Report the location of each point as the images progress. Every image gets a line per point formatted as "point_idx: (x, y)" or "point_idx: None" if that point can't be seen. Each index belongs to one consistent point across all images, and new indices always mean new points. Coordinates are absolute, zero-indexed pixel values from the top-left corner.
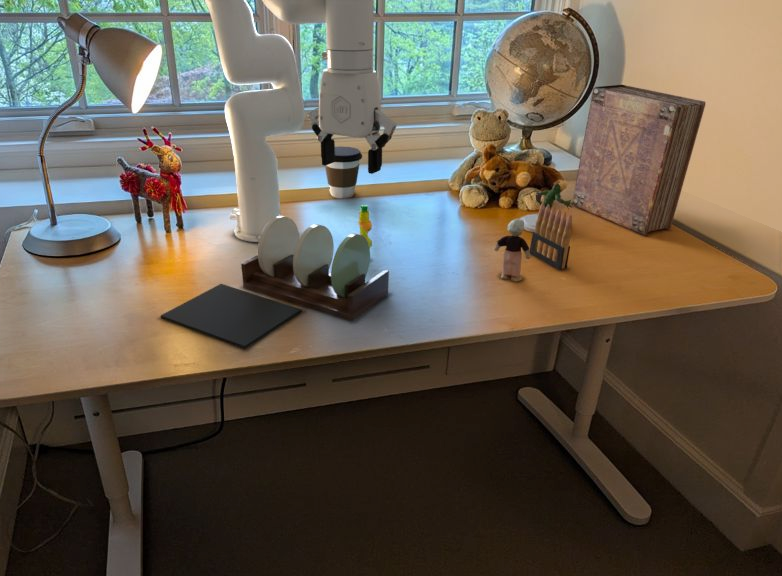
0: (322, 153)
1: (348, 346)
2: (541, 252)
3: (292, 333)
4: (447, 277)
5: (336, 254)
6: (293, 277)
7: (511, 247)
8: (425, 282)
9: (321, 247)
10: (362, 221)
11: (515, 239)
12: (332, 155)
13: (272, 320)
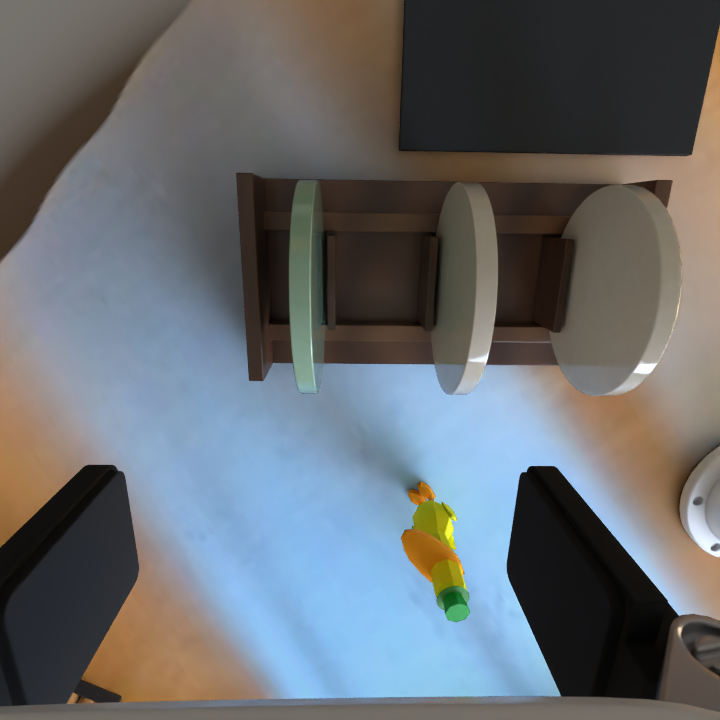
0: (589, 518)
1: (183, 50)
2: (80, 700)
3: (350, 24)
4: (199, 510)
5: (305, 206)
6: (517, 289)
7: None
8: (227, 462)
9: (450, 328)
10: (444, 562)
11: None
12: (529, 588)
13: (431, 39)
